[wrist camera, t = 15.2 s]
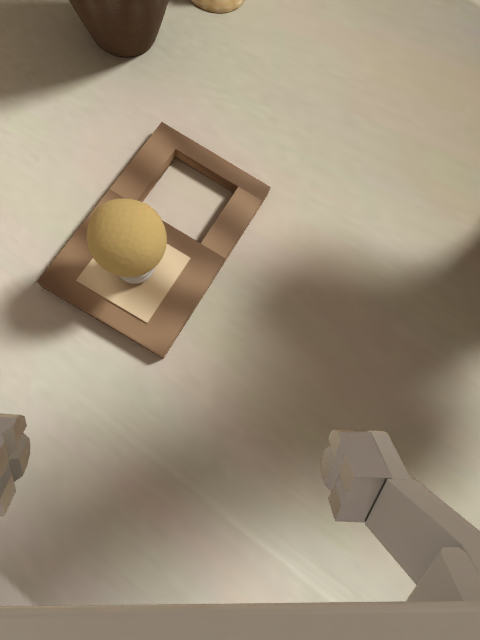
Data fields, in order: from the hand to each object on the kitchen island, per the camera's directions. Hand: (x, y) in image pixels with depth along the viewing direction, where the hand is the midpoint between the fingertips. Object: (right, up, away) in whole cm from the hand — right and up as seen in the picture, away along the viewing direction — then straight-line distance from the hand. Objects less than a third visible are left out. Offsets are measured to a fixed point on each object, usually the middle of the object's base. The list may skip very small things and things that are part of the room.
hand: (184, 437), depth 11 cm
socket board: (-7, +12, +32) cm, 35 cm away
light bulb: (-9, +8, +30) cm, 32 cm away
